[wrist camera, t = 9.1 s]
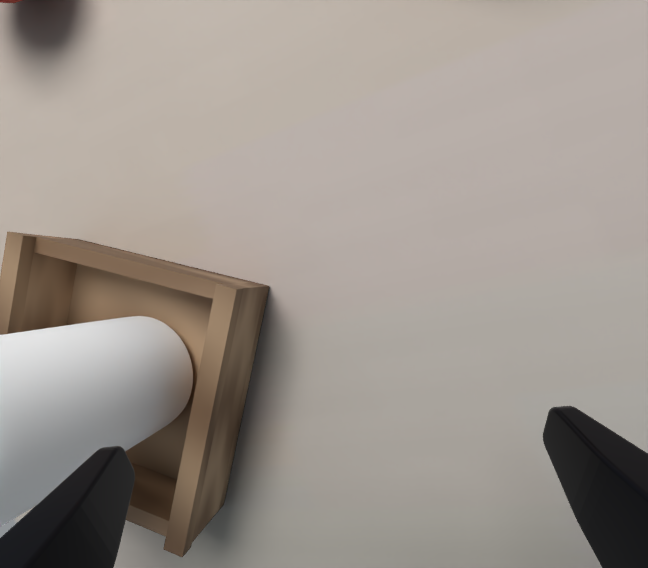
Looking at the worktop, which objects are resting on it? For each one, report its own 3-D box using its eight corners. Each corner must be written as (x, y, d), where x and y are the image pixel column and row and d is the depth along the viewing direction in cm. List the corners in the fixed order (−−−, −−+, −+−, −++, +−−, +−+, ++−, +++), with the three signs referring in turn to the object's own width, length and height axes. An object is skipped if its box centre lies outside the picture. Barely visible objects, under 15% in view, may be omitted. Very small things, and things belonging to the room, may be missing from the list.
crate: (225, 504, 22) (182, 557, 18) (43, 435, 25) (-30, 466, 21) (271, 286, 21) (236, 289, 17) (77, 239, 24) (7, 231, 20)
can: (132, 447, 23) (-172, 632, 11) (80, 350, 23) (-258, 426, 12) (218, 394, 21) (-21, 539, 10) (161, 293, 22) (-128, 313, 10)
